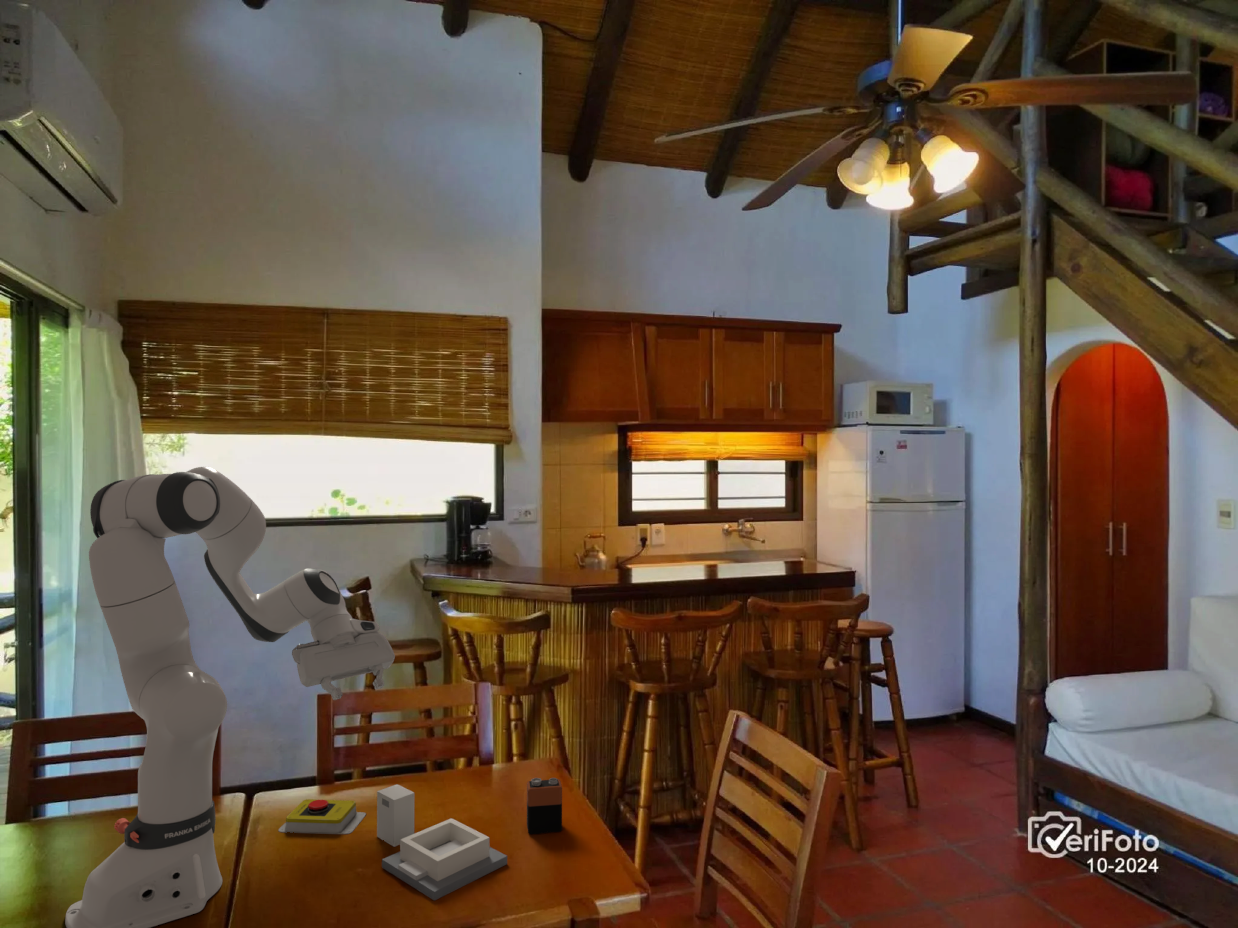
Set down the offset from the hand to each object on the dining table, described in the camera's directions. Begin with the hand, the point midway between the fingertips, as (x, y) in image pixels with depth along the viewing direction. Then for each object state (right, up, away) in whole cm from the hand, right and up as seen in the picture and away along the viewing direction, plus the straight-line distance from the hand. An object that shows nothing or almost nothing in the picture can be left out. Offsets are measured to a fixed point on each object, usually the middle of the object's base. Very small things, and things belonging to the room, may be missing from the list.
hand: (359, 692), depth 163 cm
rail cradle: (+22, -26, -20) cm, 39 cm away
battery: (+39, -26, -5) cm, 47 cm away
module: (+10, -26, -9) cm, 29 cm away
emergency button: (-6, -26, -3) cm, 27 cm away
